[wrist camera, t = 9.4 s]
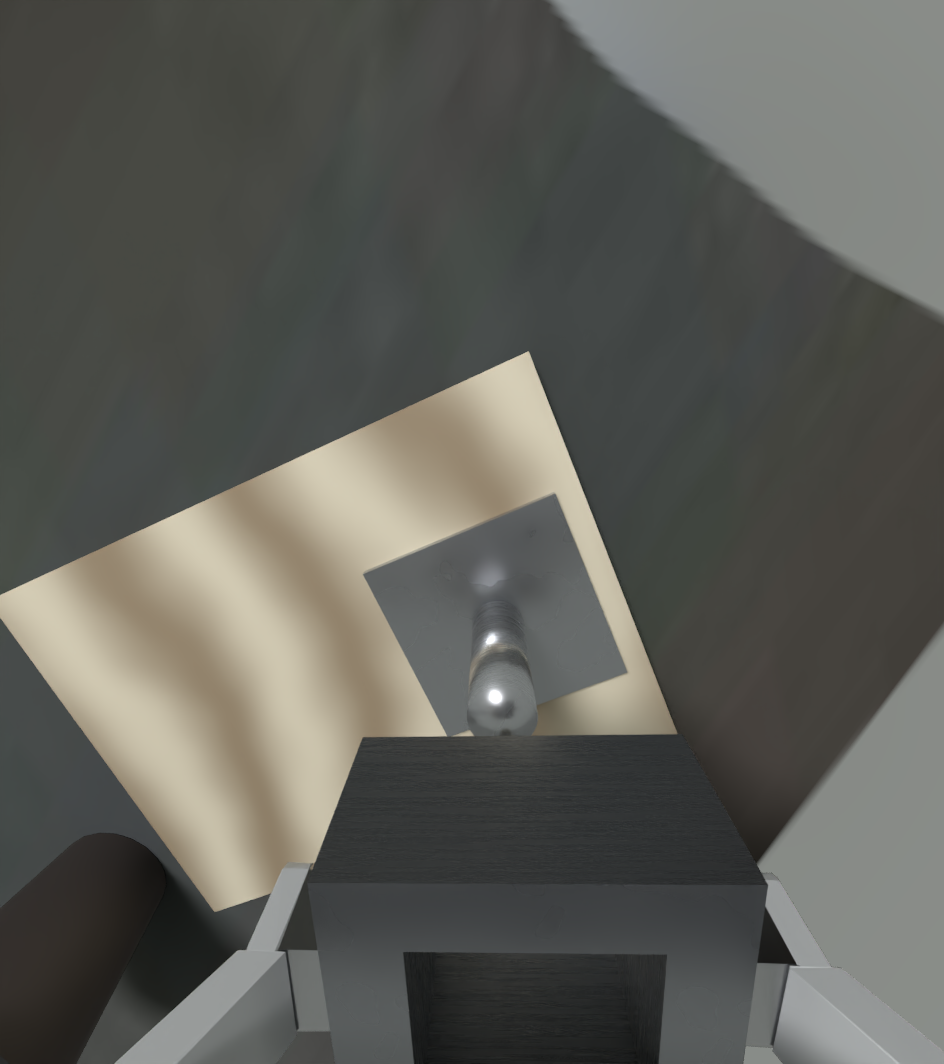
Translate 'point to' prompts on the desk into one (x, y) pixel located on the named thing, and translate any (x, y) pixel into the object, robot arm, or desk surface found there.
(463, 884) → the link
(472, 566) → the post
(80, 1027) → the coffee cup
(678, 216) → the desk surface
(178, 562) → the board
